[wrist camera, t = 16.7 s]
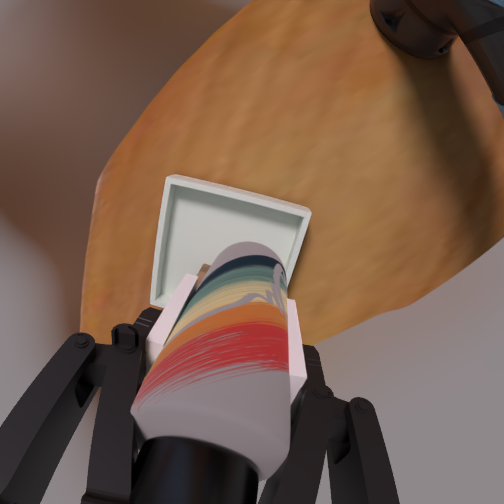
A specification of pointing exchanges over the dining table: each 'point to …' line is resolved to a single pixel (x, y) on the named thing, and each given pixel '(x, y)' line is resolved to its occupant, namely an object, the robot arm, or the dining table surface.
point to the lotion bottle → (218, 388)
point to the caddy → (218, 229)
